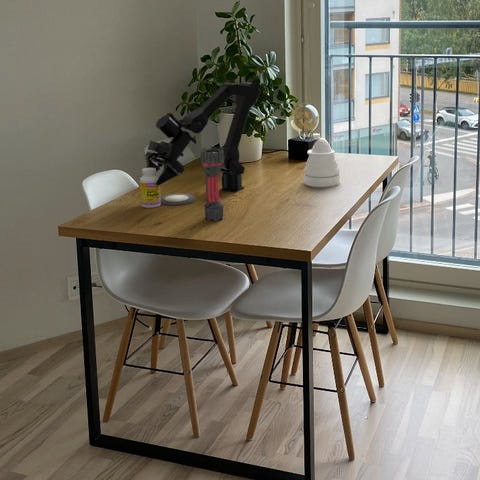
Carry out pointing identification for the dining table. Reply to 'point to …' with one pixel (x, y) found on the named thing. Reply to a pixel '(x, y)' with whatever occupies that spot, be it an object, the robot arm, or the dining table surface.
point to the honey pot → (321, 165)
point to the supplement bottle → (149, 188)
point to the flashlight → (212, 181)
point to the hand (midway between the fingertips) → (150, 182)
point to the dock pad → (177, 199)
